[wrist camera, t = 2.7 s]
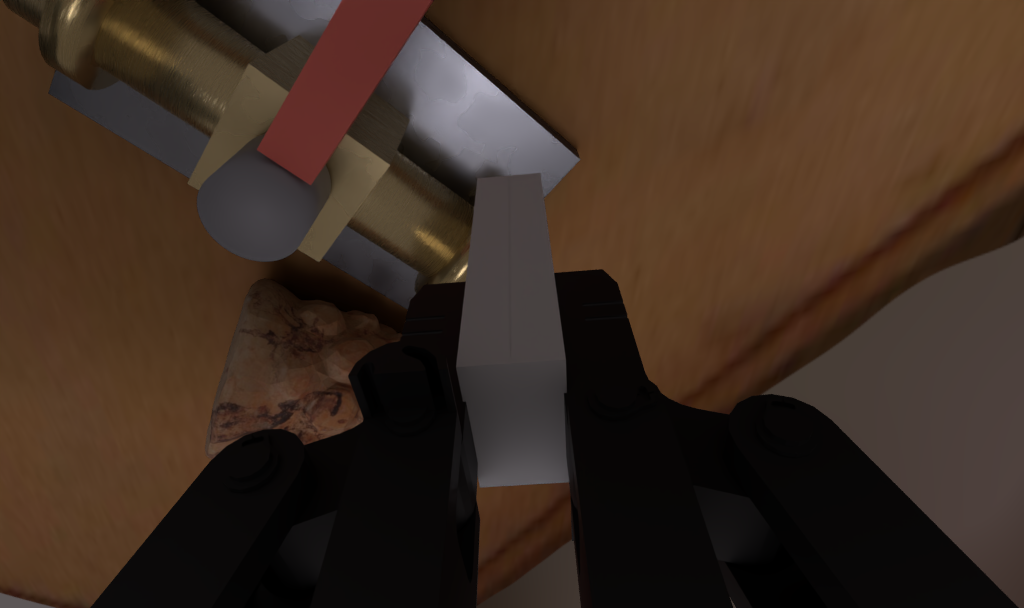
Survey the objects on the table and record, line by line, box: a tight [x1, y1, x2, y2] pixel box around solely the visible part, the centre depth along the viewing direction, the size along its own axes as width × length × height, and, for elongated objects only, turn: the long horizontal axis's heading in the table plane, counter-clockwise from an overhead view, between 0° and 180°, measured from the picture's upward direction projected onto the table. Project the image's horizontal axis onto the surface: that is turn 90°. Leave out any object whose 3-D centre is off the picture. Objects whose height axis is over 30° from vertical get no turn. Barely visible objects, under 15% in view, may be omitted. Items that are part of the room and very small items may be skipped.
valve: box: [3, 0, 580, 310], centre depth 25 cm, size 22×14×8 cm, turn 50°
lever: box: [197, 0, 434, 262], centre depth 17 cm, size 4×16×4 cm, turn 140°
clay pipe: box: [205, 278, 402, 459], centre depth 35 cm, size 19×11×15 cm
